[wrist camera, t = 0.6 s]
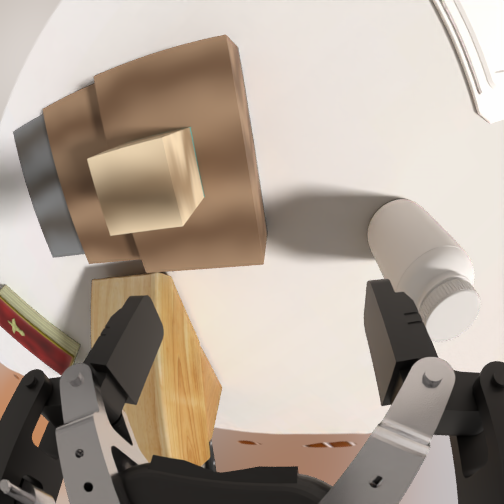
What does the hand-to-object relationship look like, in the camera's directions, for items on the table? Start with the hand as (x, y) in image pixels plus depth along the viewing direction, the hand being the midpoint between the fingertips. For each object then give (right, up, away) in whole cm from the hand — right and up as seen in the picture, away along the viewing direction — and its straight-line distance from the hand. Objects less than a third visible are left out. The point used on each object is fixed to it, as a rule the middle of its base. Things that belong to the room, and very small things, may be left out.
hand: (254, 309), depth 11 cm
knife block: (-12, -15, +35) cm, 40 cm away
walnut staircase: (-16, +11, +20) cm, 28 cm away
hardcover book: (-44, -13, +38) cm, 60 cm away
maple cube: (-7, +9, +13) cm, 18 cm away
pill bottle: (+17, +5, +21) cm, 27 cm away
